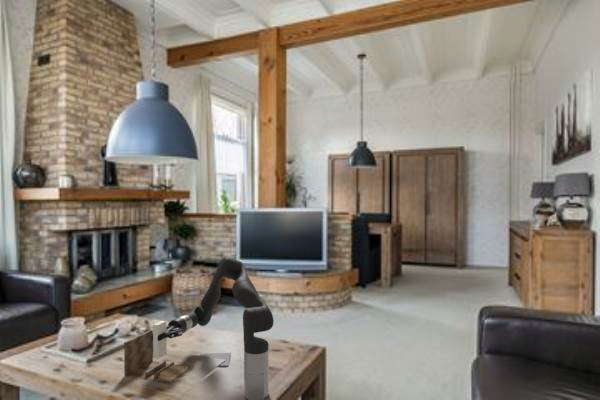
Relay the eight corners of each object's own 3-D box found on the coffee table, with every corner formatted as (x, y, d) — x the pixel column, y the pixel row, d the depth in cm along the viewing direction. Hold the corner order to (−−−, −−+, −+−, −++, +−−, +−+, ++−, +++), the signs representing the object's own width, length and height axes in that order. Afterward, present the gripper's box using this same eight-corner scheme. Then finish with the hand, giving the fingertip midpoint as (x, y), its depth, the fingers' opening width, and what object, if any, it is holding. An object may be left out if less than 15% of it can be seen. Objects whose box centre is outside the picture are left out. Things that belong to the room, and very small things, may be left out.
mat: (228, 366, 178) (228, 365, 178) (195, 367, 177) (195, 366, 177) (230, 354, 192) (230, 352, 192) (200, 355, 191) (200, 353, 191)
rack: (150, 362, 182) (150, 329, 182) (194, 370, 175) (194, 335, 175) (124, 378, 167) (124, 342, 167) (171, 387, 160) (170, 349, 159)
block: (161, 353, 174) (161, 320, 173) (166, 353, 173) (166, 321, 173) (153, 358, 168) (152, 324, 168) (158, 358, 168) (157, 325, 167)
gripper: (167, 315, 186) (141, 327, 170) (193, 318, 182) (169, 330, 165) (167, 332, 186) (141, 345, 170) (193, 335, 182) (169, 349, 165)
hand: (155, 338), depth 168 cm, fingers closed on block, 2 cm apart
